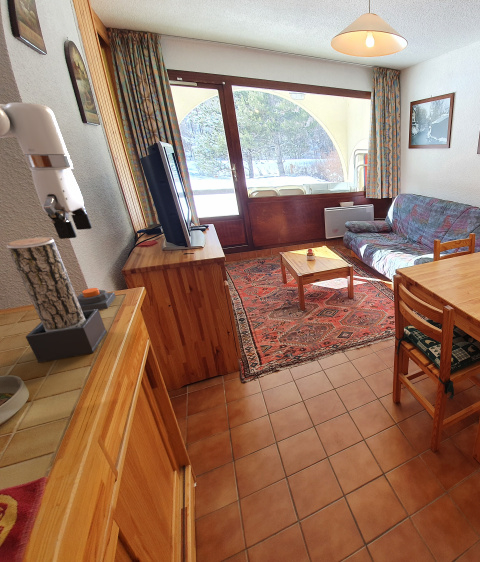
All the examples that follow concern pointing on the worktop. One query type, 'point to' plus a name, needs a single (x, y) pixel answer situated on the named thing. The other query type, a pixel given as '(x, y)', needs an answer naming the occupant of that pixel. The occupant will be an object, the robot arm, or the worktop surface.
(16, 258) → the bark log cylinder
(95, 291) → the release button
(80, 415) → the worktop surface
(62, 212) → the robot arm
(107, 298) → the block
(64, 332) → the dock
